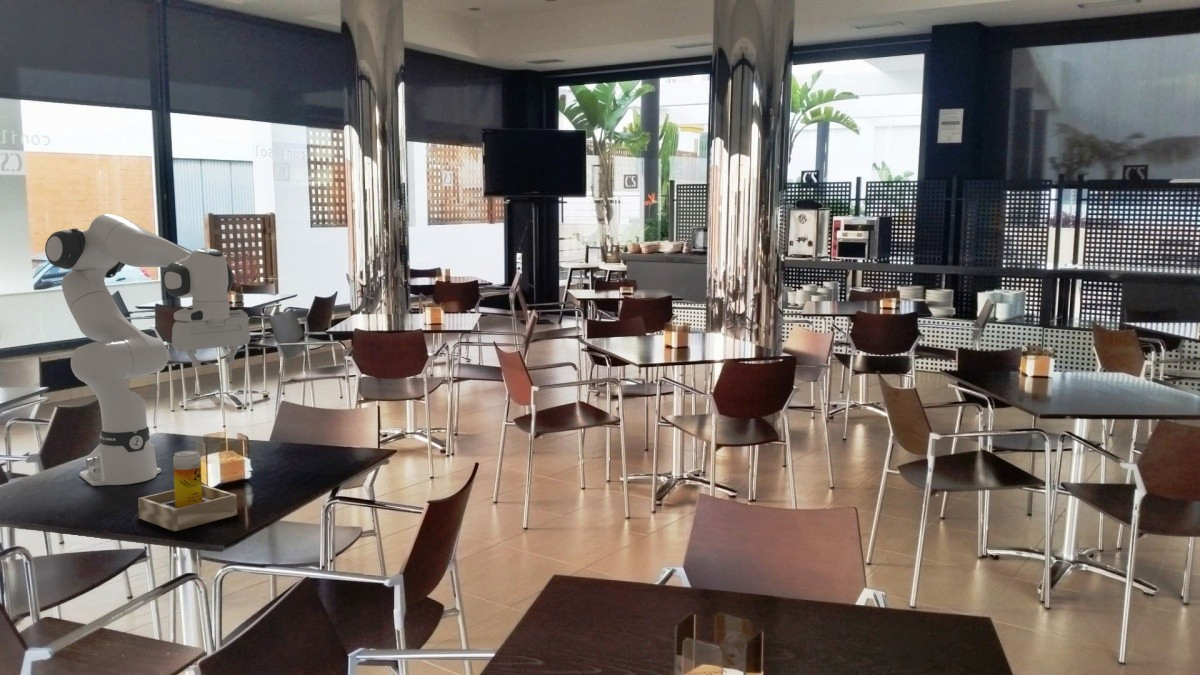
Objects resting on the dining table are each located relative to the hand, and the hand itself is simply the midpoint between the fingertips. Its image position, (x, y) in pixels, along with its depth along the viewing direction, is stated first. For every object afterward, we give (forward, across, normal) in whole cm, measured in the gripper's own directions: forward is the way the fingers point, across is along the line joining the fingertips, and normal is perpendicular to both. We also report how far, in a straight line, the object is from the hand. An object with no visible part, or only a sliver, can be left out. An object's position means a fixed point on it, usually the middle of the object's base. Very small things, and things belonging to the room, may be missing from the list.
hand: (213, 364), depth 246 cm
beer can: (+34, +16, +13) cm, 39 cm away
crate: (+34, +16, +13) cm, 40 cm away
